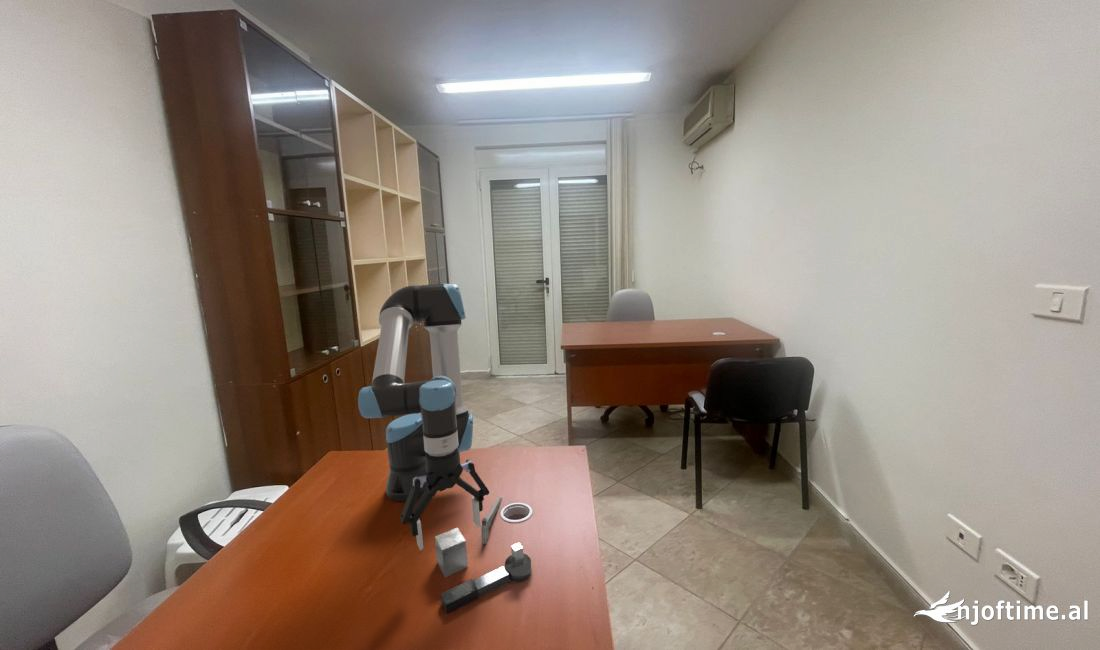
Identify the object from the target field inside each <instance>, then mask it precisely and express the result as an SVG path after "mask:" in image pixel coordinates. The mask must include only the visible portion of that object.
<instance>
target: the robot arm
mask: <svg viewBox="0 0 1100 650" xmlns="http://www.w3.org/2000/svg"><path fill="white" fill-rule="evenodd" d="M461 294H462V293H461V290H460V287H459V285H458V284H456V283H434V284H420V285H408V286H404V287H402V288H399V289H397V290H396V291H394V292H393V293H391V295H390V296H389V297H388V298H387V299H386V300H385V302H384V303H383V304H382V306H381V308H380V311H379V316H378V322H379V325H380V333H379V338H378V343H377V350H376V356H375V361H374V369H373V373H372V374H373V375H372V380H371V381H372V382H371V385H369V386H365V387H361V389H360V390H359V392H358V399H357V403H358V411H359V413H360V416H361V417H363V418H364V419H382V418H385V417H396V416H400V417H398V418H396V419H394V420H392V421H391V422H389V423H388V425H387V427H386V428H385V437H386V438H385V442H386V447H387V449H386V450H387V454H388V455H387V456H388V464H389V472H388V477H387V481H386V483H385V492H386V497H387V498H388V499H390V500H392V501H394V502H404V506H403V509H402V511H401V514H400V520H401V522H402V525H408V524H409V525H410V533H411V535H412V537H413V538H414V537H415V538H416V544H417V547H418V549H419V551H422V550H424V540H423V530H422V522H421V520H420V518H421V516H422V515H423V513H424V512H425V509H426V508H427V506H428V505H429V503H430V501H431V500H432V499H433V497H435V496H436V495H437V493H438V491H439V492H443V491H445V490H447V489H452V488H454V486H456V485H457V486H459V488H461V489H464V490H465V491H466V492H468V493H469V494H470V495H471V496H472V497H471V509H472V510H471V511H472V520H473V521H472V522H473V523H474V524H475V526H476V527H477V528H480V527H481V515H480V512H482V511H483V510H484V509H483V508H484V505H483V504H484V503H483V502H484V500H485V498H484V496H488V495H489V494H490V490H489V489H488V487H487V486H486V485H485V483H484V482H483V480H482V479H481V477H480V476H479V473H477V471H476V469H475V464H474V463H473V462H472V461H471V460H470V459H466V461H465V462H464V463H461V456H460V453H462V452H467V451H470V449H471V448H472V445H473V433H474V432H473V431H474V414H473V413H471V412H470V413H469V408H468V407H467V406H466V405H465V404H464V400H463V389H462V374H461V365H460V364H461V362H460V351H459V338H458V337H459V335H458V330H459V328H460V327H462V320H465V319H466V313H465V308H464V302H463V299H462V295H461ZM414 323H423V326H424V329H425V330H426V331H428V332H429V341H430V354H431V366H432V369H431V370H432V378H431V379H430V380H424V381H415V382H405V377H406V366H407V354H408V343H409V331H410V329H411V327H412V326H413V324H414ZM402 415H403V416H402ZM463 471H465V472H466V473H469V475H470V476H471V478H472V479H473V480H474V482H475V483H476V485H477V486H478V487H479V490H477V488H475V487H474V486H472V485H471V484H470V483H468V482H467V481H465V480H464V479H463V478H462V477H461V475H462V474H463Z"/></svg>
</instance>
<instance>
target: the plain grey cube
mask: <svg viewBox="0 0 1100 650" xmlns="http://www.w3.org/2000/svg"><path fill="white" fill-rule="evenodd" d="M434 540H435V551H436V561H437V562H436V563H437V564H438V566H439V568H440V571H441V573H442V575H443V577H444V578H447V577H449V576H451V575H454V574H456V573H458V572H460V571H462V570H464V569H467V568H469V567H468V565H469V564H468V562H469V561H468V553H467V552H468V551H467V540H466V538H465V537H464V536H463V534H462V532H461V531H460V529H459V528H458V527H456V528H452V529H450V530H448V531H445V532H442V533H440V534H438V535H435V536H434Z"/></svg>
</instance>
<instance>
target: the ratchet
mask: <svg viewBox="0 0 1100 650" xmlns="http://www.w3.org/2000/svg"><path fill="white" fill-rule="evenodd" d="M510 550H511V555H509V556H508V557H507V558H506V559H505V561H504V565H502V566H500V567H498V568H496V569H494V570H491V571H489V572H487V573H484V574H483V575H481V576H479V577H477V578H475V579H469V580H467V581H465V582H463V583H461V584H459V585H456V586H453V588H450V589H448V590H445V591H443V592H442V593H441V592H440V598H441V604H442V606H443V608H444V610H445V611H444V612H445V613H446V614H447V615H448V614H450V613H452V612H454V611H456V610H458V609H460V608H462V607H464V606H466V605H468V604H470V603H472V602H474V601H477V600H478V599H479V598H480V597H483V596H485V595H487V594H488V593H491V592H493V591H494V590H496V589H499V588H500V587H503V586H505V585H507V584H508V583H511V582H514V583H521V582H524V581H526V580H527V579H529V578H530V576H531V575H532V559H531V557H530V555H528V554H526V553H524V547H523V545H521V543H520V542H517V543H514V544H512V545H511V546H510Z"/></svg>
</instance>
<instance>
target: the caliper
mask: <svg viewBox="0 0 1100 650" xmlns="http://www.w3.org/2000/svg"><path fill="white" fill-rule="evenodd" d="M502 499H503V497H501V496H498V497H497V498H496V500H495V502H494V504H493V505H492V507H491V510H490V511H489V513H487V515H486V516H485V517H483V518H482V520H481V525H480V527H481V528H480V529H481V530H480V531H481V536H480V537H481V544H482V545H487V541H488V540H489V529H490V528H491V525H492V521H493V519H494V517H495V514H496V513H497V510H498V509H499V507H500V505H501V503H502Z"/></svg>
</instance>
